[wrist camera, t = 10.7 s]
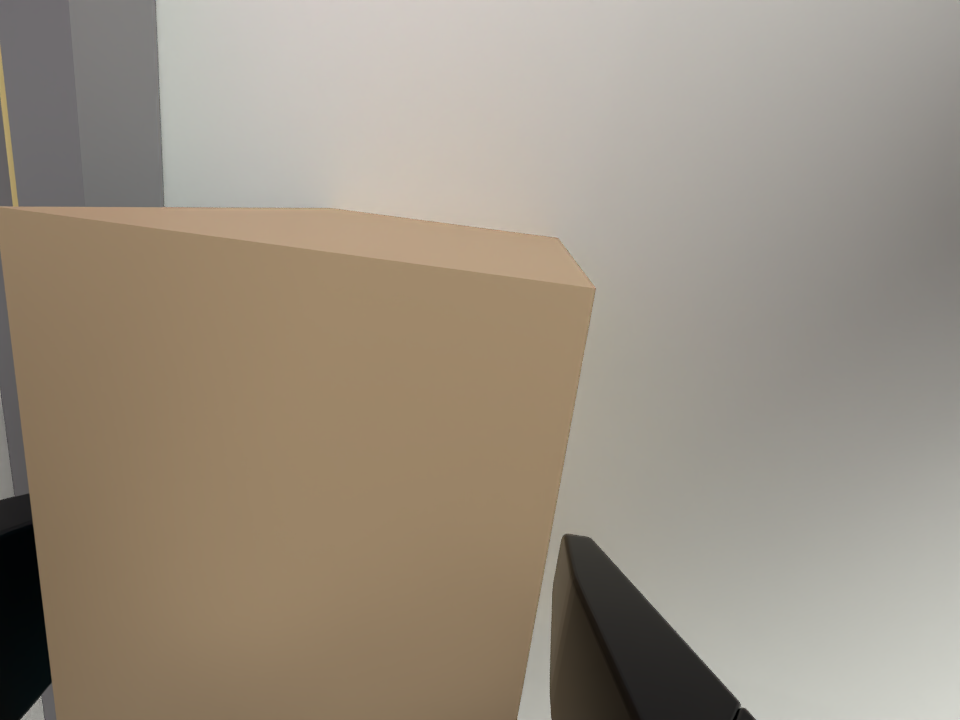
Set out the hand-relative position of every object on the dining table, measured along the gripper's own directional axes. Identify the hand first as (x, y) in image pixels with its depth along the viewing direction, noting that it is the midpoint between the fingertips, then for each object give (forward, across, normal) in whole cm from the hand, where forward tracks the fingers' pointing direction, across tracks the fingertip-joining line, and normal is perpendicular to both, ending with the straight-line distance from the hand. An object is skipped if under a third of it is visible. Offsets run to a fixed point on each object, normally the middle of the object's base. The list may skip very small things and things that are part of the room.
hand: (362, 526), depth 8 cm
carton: (+4, 0, 0) cm, 4 cm away
